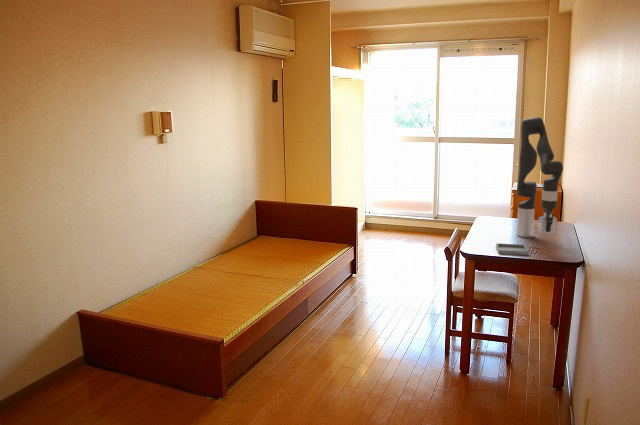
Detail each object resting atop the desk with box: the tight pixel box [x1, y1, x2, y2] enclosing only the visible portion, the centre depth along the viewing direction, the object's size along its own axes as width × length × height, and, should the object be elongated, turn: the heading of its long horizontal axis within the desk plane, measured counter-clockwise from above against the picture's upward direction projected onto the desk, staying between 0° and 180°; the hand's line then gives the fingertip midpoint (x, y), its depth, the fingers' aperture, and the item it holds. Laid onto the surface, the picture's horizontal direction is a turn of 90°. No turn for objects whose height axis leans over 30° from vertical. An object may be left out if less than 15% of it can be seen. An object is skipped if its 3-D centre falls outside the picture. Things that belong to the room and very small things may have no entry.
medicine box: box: [537, 216, 558, 235], centre depth 279 cm, size 8×4×9 cm, turn 92°
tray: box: [495, 242, 530, 257], centre depth 286 cm, size 15×15×2 cm
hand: (546, 230), depth 280 cm, fingers closed on medicine box, 5 cm apart
